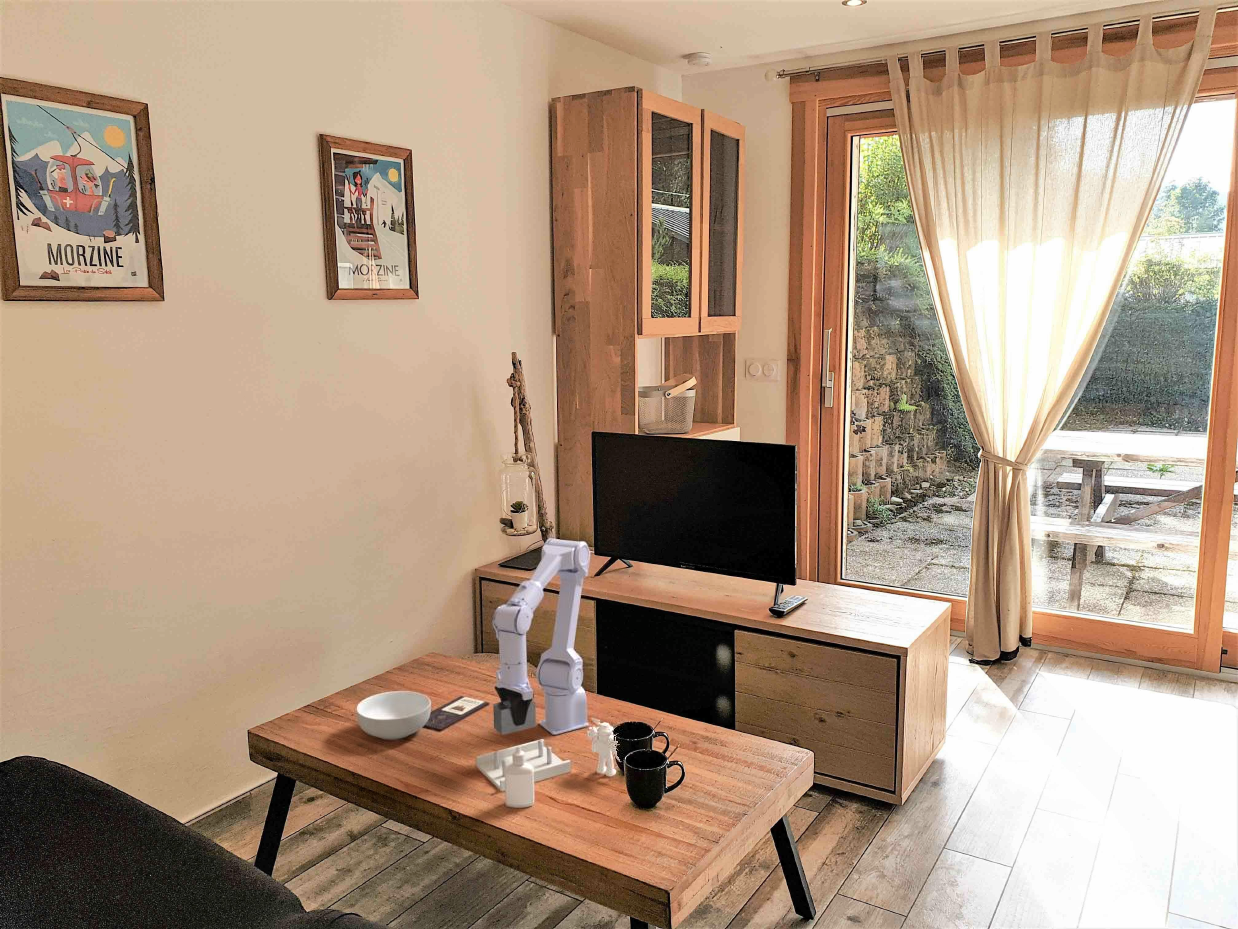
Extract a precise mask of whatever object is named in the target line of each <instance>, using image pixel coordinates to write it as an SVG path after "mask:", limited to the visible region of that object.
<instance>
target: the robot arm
mask: <svg viewBox="0 0 1238 929" xmlns="http://www.w3.org/2000/svg"><path fill="white" fill-rule="evenodd" d="M590 561H591V550H590V549H589V545H588V544H587V542H586V541H575V540H568V539H567V540H565V539H557V538H553V537H549V538H548V539H547V540H546V541H545V543H544V545H543V546H542V547H541V560H540V562H539V564H538V565H537V566H536V569H534V572H533V573H532V576H531V577H530V579H529V580H524V581H522V582H521V583H520V584H519V586H518V587H517V589H516V590H515V592H514V593H513V594H512V596H511V597H510V598H509V600H508V601H507V602H506V604H501V605H500V606H497V608H496V610H495V611H494V614H493V620H492V626H493V630H495V633H496V634H495V636H496V639H497V640H498V643H499V644H498V646H499V650H498V651H499V670H495V679H496V680H497V681H496V682H495V686H494V690H495V692H496V693H497V695H498V697H499V700H500V702H503V701H507V700H508V701H509V703H510V705H511V709H512V714H513V720H514V724H515V726H520V725H524V724H525V721H526V716H527V712H528V708H529V706H530V703H531V701H532V700H533V701H534V698H535V693H534V692H533V691H534V690H533V689H532V688H531V685H530V682H529V679H528V667H527V663H528V662H527V659H528V657H527V632H528V631H529V630H530V627H531V624H532V619H533V618H534V612H535V610H536V609H537V607H538V606H539V604H540V603H541V601H542V600H543V598H544V596H545V595H544V589H545V587H546V586H547V585H548V584H549V582H550V581H551V580H552V579H553V577H555V576H556V575H557V576H558V577H559V579H560V584H559V585H560V587H559V594H558V601H557V608H556V615H555V619H554V620H555V621H554V629H553V633H552V634H553V636H552V642H551V647H549V648H548V649H547V650H545V651H544V652H543V653H541V656H540V661H539V663H538V666H537V668H536V671H535V672H536V673H535V680H536V682H537V685H539V686H540V687H541V691H543V692H544V715H545V716H544V717H545V718H544V720H540V721H538V725H539V726H541V727H542V728H544V729H545V730H546V731H548V732H549V733H550V734H551V735H554V736H555V735H560V734H563V733H567V732H571V731H575V730H578V729H582V728H586V727H589V726H590V725H589V722H588V701H587V700H588V699H587V695H586V692H585V689H584V687H583V686H582V683H583V679H584V671H583V658H582V657H581V656H580V655H579V654H578V653H577V652H576V651H575V649H574V648H575V647H574V646H575V638H576V631H577V625H578V618H579V612H580V603H581V596H582V591H583V589H582V588H583V583H584V578H586V577H588V576H589V569H590V568H589V567H590ZM562 661H563V662H562Z"/></svg>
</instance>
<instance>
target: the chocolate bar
mask: <svg viewBox="0 0 1238 929" xmlns="http://www.w3.org/2000/svg"><path fill="white" fill-rule="evenodd" d="M489 705H490V702H488V701H484V700H480V699H476V698H472V697H466V696H462V695H460V696H459V697H457V698H454V699H453V700H451V701H449V702H447V703H445V704H443V705H441V706H439V707H437V708H436V709H434V710H431V712H430V717H429V719H428V721H427V723H426V724H425V725H424V726H423V727H422V728H425V729H429V730H433V731H436V732H437V731H438V732H443V731H445V730H446V729H449V728H450V727H452V726H454V725H456V724H457V723H459V722H462V720H465V719H466V718H468V717H469V716H471V715H474V714H475V713H477V712H479V711H480V710H482V709H484V708H486V707H488V706H489Z"/></svg>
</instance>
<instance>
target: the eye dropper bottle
mask: <svg viewBox="0 0 1238 929" xmlns="http://www.w3.org/2000/svg"><path fill="white" fill-rule="evenodd" d="M516 746H517V747H516V751H514V752H513V753H512V760H513V763H511V764H509V765H507V766H506V768H505V791H504V796H505V798H504V799H505V801H504V802H505V805H506V807H508V808H515V809H517V808H519V809H520V808H521V809H522V808H529V807H532V806H534V804H535V782H534V771H533V766H532V765H530V764H528V763H525V752H523V751H521V748H520V746H518V745H516Z"/></svg>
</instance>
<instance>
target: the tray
mask: <svg viewBox="0 0 1238 929" xmlns="http://www.w3.org/2000/svg"><path fill="white" fill-rule="evenodd" d="M545 741H546V740H545V739H543V738H542V739H538V740H534V741H533V740H532V741H531V742H527V743H523V744H518V745H515V746H511V747H507V748H504V749H500V750H496V751H492V752H489V753H488V752H487V753H484V754H481V755H478V756H475V764H476V765H475V766H476V768H477V769H478V771H480V772H481V773H482V775H484V776H485V777H486V778H487V779H488V780H489V781H490V782H491V783H492V784H493V785H494V786H495V787H496V788H497V789H498V790H499V791H500V792H502V793H503V792H505V768H506V766H507V765H509V764H511V763H513V760H512V753H513V752H514V751H516V747H517V746H520V748H521V751H523V752H525V763H528V764H530V765H532V766H533V771H534V783H536V782H540V781H543V780H547V779H550V778H553V777H557V776H561V775H564V774H567V773H570V772H572V761H571V760H570V759H568V760H562V759H560V757H558V756H557V755H556V754H555V753H553V752H552V746H547V747H546V746H545V743H546V742H545Z"/></svg>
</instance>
